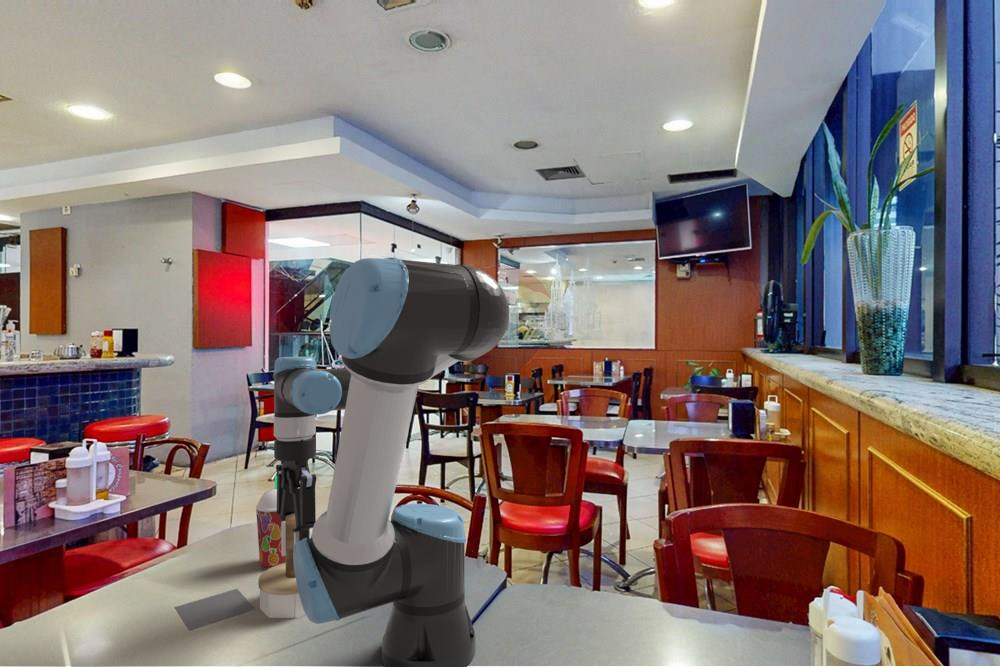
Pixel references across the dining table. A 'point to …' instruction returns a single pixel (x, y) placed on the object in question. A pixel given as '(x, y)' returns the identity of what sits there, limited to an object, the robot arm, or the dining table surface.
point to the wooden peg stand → (282, 568)
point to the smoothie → (269, 529)
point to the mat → (213, 609)
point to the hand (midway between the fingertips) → (295, 558)
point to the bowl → (281, 605)
